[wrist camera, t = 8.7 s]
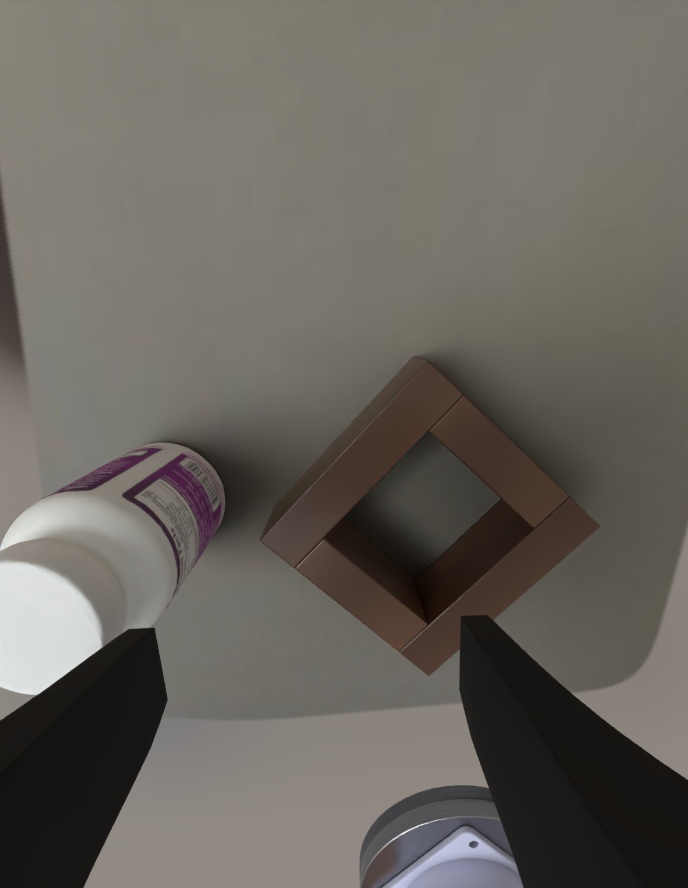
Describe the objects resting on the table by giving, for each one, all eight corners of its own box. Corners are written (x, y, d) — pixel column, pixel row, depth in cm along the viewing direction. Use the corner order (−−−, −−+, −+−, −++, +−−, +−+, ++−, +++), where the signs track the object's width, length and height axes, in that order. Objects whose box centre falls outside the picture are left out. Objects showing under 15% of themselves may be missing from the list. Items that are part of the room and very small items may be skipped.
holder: (558, 494, 20) (601, 526, 17) (416, 623, 22) (429, 676, 18) (413, 356, 19) (428, 360, 15) (273, 506, 20) (258, 541, 17)
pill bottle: (112, 537, 21) (-82, 703, 11) (117, 431, 19) (-98, 520, 10) (223, 555, 21) (122, 732, 12) (235, 451, 20) (133, 556, 10)
